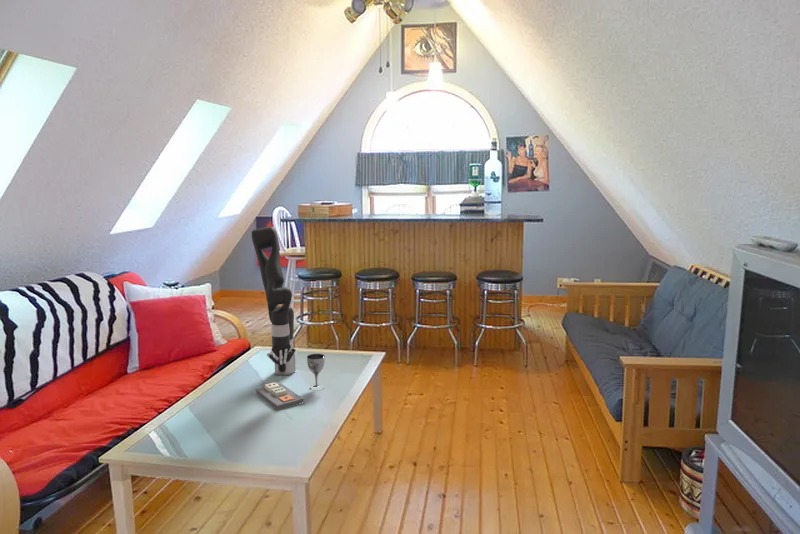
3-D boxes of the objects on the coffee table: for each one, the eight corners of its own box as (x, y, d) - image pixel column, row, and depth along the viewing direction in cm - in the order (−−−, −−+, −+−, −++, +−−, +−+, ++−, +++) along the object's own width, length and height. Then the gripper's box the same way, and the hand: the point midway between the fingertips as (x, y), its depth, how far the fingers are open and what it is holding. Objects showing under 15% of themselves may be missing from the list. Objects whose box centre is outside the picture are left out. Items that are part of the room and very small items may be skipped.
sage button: (281, 392, 245) (281, 386, 245) (286, 395, 242) (286, 389, 241) (271, 394, 243) (271, 389, 242) (276, 398, 239) (276, 392, 238)
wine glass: (304, 389, 252) (303, 357, 250) (313, 383, 260) (312, 352, 257) (319, 391, 249) (319, 360, 247) (328, 385, 257) (327, 354, 254)
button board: (280, 387, 255) (280, 383, 254) (303, 403, 237) (303, 398, 237) (256, 393, 247) (255, 389, 247) (277, 410, 230) (277, 405, 230)
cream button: (275, 387, 251) (274, 381, 250) (279, 390, 247) (279, 385, 247) (265, 389, 248) (264, 384, 248) (269, 393, 244) (269, 387, 244)
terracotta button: (289, 399, 240) (288, 394, 240) (294, 403, 236) (293, 397, 236) (278, 402, 237) (278, 396, 237) (283, 406, 234) (283, 400, 233)
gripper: (290, 328, 243) (291, 365, 247) (262, 334, 235) (264, 372, 238) (298, 332, 238) (300, 370, 241) (270, 338, 229) (272, 378, 233)
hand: (282, 371), depth 240 cm, fingers closed
